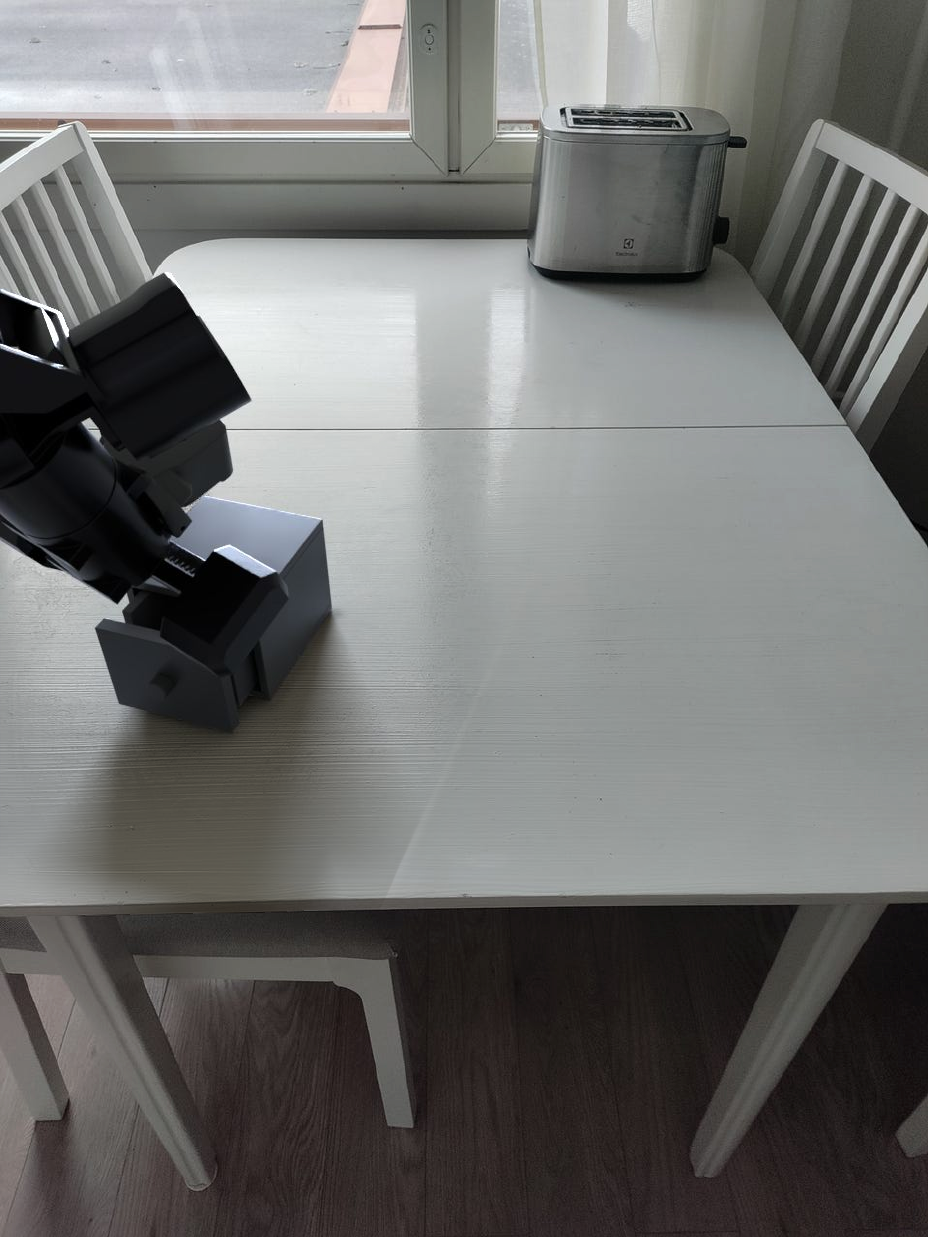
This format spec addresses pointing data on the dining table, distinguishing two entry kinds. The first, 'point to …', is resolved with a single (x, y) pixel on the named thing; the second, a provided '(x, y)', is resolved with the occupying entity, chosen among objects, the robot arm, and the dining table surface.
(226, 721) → the fryer drawer
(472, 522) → the dining table surface
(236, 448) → the dining table surface
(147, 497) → the robot arm
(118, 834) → the dining table surface
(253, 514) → the dark grey box
